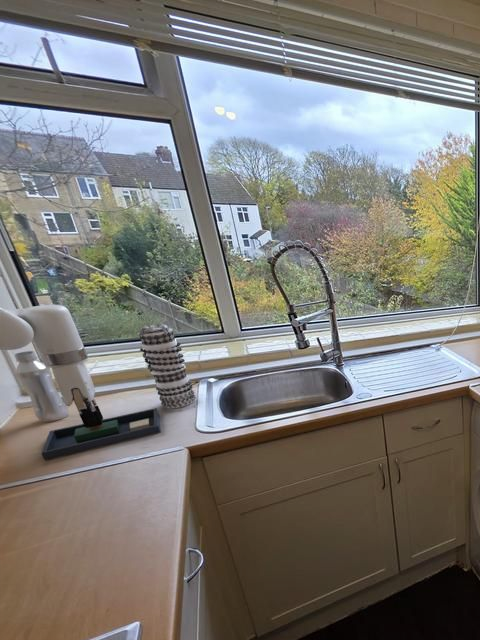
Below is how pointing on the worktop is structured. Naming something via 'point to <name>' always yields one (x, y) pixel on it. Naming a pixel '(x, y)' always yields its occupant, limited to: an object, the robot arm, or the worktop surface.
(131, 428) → the cream square tile
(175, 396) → the black white patterned cylinder
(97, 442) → the tray
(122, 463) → the worktop surface
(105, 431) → the brush
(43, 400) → the plastic bottle
